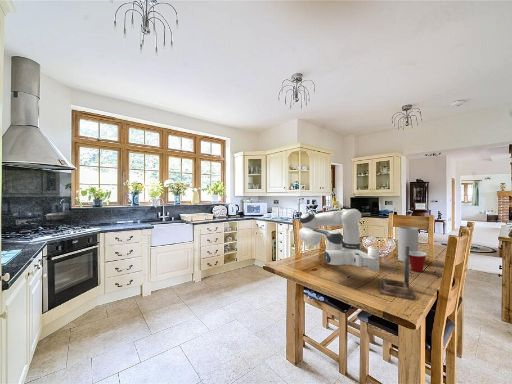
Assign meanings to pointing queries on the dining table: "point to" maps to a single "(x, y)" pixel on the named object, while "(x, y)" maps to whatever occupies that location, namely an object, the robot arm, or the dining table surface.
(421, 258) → the plastic cup
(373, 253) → the paper roll
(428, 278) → the dining table surface
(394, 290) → the roll holder
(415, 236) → the cylinder vase
